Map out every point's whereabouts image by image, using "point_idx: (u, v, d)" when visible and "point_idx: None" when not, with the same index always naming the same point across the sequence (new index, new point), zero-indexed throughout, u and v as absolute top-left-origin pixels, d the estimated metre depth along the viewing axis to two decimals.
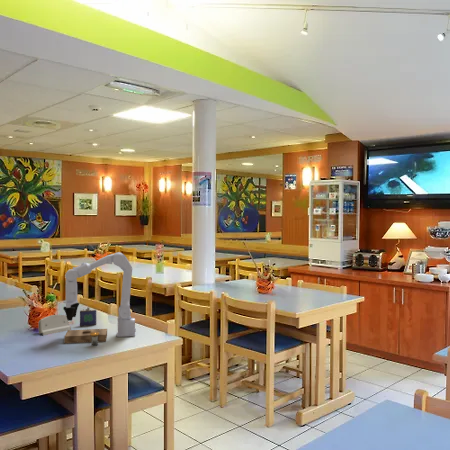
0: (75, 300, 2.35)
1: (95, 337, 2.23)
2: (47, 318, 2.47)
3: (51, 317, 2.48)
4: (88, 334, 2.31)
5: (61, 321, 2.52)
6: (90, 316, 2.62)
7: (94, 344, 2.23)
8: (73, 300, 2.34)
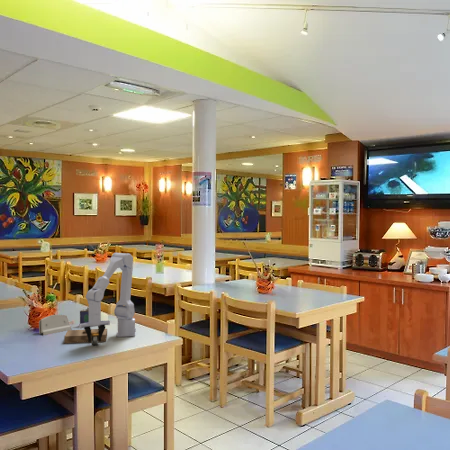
0: (92, 322, 2.22)
1: (95, 337, 2.23)
2: (47, 318, 2.47)
3: (51, 317, 2.48)
4: None
5: (61, 321, 2.52)
6: None
7: (94, 344, 2.23)
8: (90, 322, 2.22)
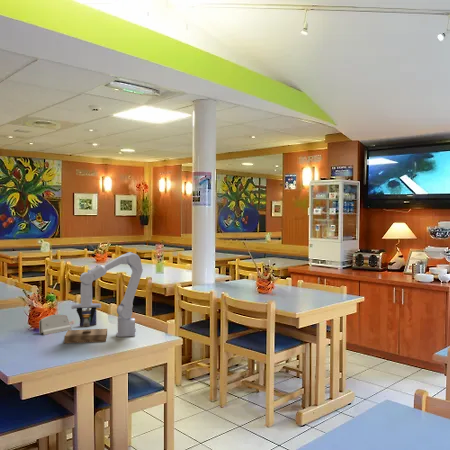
0: (82, 304, 2.31)
1: (86, 319, 2.33)
2: (48, 318, 2.47)
3: (52, 317, 2.49)
4: (88, 334, 2.31)
5: (62, 321, 2.52)
6: None
7: (85, 325, 2.32)
8: (81, 303, 2.32)
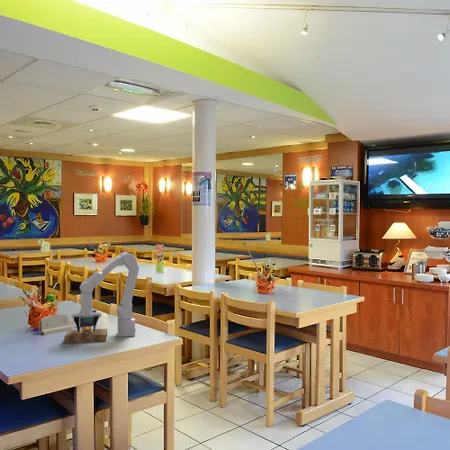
0: (82, 313, 2.32)
1: (86, 332, 2.33)
2: (48, 318, 2.47)
3: (52, 317, 2.49)
4: (88, 334, 2.31)
5: (62, 321, 2.52)
6: None
7: None
8: (81, 312, 2.32)
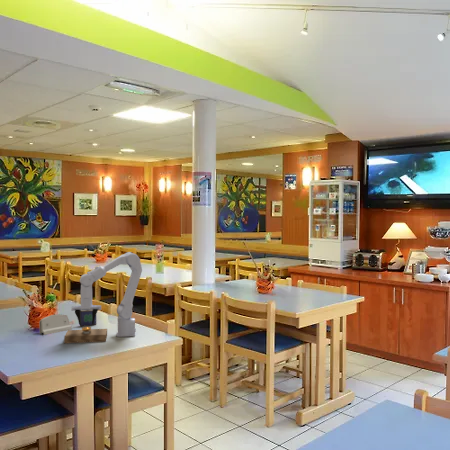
0: (82, 306, 2.31)
1: (86, 332, 2.33)
2: (48, 318, 2.47)
3: (52, 317, 2.49)
4: (88, 334, 2.31)
5: (62, 321, 2.52)
6: (90, 316, 2.62)
7: None
8: (81, 305, 2.32)
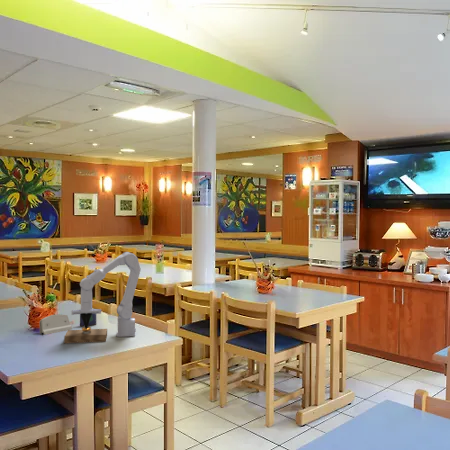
0: (82, 310, 2.32)
1: (86, 332, 2.33)
2: (48, 318, 2.47)
3: (52, 317, 2.49)
4: (88, 334, 2.31)
5: (62, 321, 2.52)
6: None
7: None
8: (81, 309, 2.32)
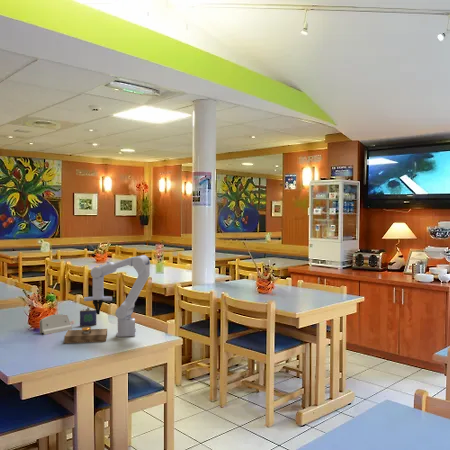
0: (94, 296, 2.43)
1: (86, 332, 2.33)
2: (48, 318, 2.48)
3: (52, 317, 2.49)
4: (88, 334, 2.31)
5: (62, 321, 2.52)
6: (90, 316, 2.62)
7: None
8: (93, 296, 2.44)
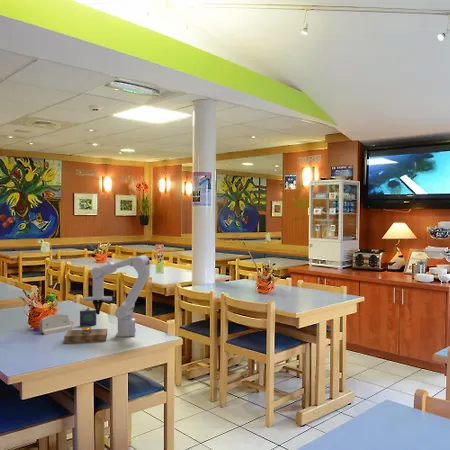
0: (94, 296, 2.43)
1: (86, 332, 2.33)
2: (48, 318, 2.48)
3: (52, 317, 2.49)
4: (88, 334, 2.31)
5: (62, 321, 2.53)
6: (90, 316, 2.62)
7: None
8: (93, 296, 2.44)
